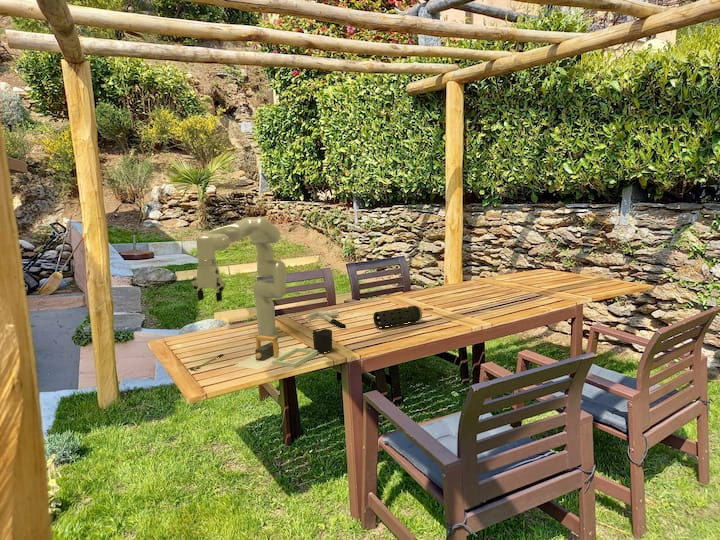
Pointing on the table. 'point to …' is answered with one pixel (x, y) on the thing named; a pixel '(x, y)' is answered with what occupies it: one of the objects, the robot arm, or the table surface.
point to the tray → (297, 363)
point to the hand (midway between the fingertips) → (210, 300)
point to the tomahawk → (206, 363)
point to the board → (258, 361)
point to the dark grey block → (265, 352)
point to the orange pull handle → (266, 338)
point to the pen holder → (322, 340)
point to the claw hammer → (326, 317)
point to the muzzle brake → (397, 316)
